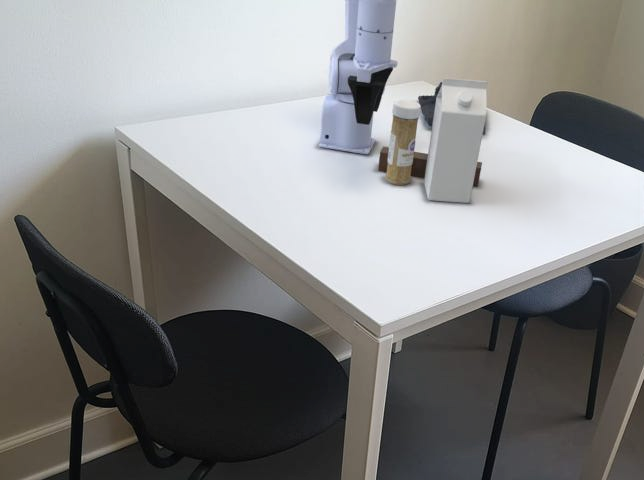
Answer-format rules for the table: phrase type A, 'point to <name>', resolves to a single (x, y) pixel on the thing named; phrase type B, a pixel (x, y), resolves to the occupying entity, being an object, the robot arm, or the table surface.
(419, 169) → the walnut rail
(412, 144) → the sprinkles bottle
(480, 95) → the milk carton
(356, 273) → the table surface
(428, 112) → the dark slate chunk
